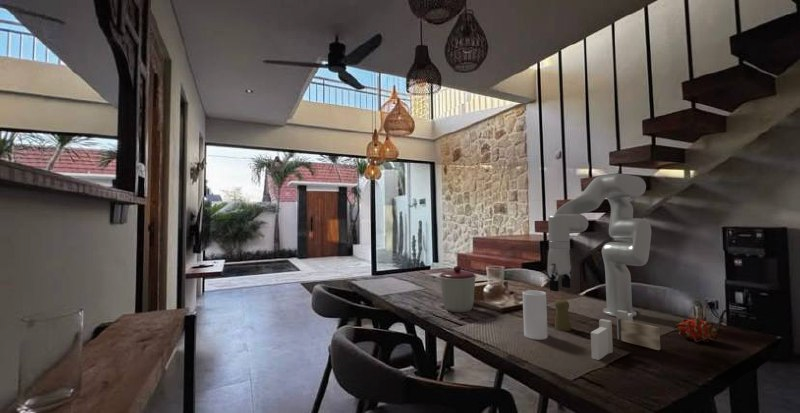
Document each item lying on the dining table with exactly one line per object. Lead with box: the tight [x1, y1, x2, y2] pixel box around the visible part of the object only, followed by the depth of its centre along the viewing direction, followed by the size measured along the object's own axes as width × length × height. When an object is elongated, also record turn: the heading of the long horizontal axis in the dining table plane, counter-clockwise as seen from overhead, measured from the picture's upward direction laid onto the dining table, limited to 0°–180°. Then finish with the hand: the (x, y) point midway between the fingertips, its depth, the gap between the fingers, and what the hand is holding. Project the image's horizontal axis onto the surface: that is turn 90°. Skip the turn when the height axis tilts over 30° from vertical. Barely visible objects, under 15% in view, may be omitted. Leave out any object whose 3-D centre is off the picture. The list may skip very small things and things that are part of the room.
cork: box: [554, 299, 572, 332], centre depth 135 cm, size 6×6×11 cm
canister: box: [438, 265, 478, 313], centre depth 165 cm, size 18×18×21 cm
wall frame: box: [590, 310, 634, 361], centre depth 116 cm, size 31×3×10 cm, turn 129°
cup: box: [522, 289, 549, 341], centre depth 128 cm, size 8×8×16 cm
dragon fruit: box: [673, 316, 720, 343], centre depth 119 cm, size 8×8×12 cm
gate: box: [618, 319, 661, 351], centre depth 115 cm, size 12×2×7 cm, turn 35°
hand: (560, 289), depth 135 cm, fingers open, 9 cm apart
